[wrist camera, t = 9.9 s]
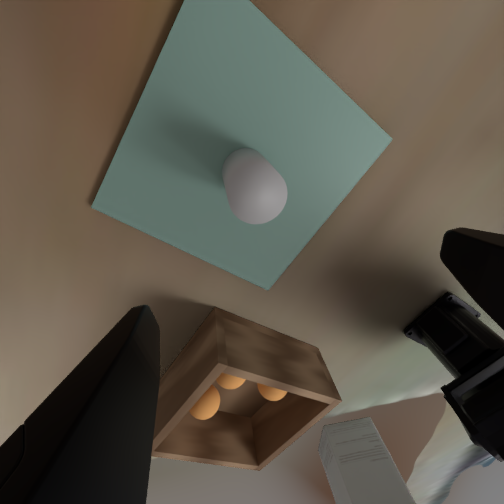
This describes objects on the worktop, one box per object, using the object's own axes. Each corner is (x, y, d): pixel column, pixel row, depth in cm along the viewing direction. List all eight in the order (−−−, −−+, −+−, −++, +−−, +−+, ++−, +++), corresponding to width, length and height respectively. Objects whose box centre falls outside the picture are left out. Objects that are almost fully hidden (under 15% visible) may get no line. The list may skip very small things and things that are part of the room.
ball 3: (290, 363, 29) (299, 391, 26) (272, 381, 30) (279, 410, 27) (266, 355, 28) (273, 384, 25) (248, 374, 29) (253, 404, 26)
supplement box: (316, 450, 42) (356, 572, 32) (322, 423, 39) (369, 553, 28) (361, 441, 43) (414, 558, 33) (371, 415, 40) (435, 536, 29)
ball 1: (225, 380, 29) (227, 411, 26) (209, 398, 30) (210, 429, 27) (197, 372, 27) (197, 404, 25) (182, 391, 29) (180, 423, 26)
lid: (384, 137, 20) (446, 153, 15) (265, 283, 25) (282, 332, 20) (203, -36, 14) (205, -106, 9) (95, 202, 19) (57, 242, 14)
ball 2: (252, 350, 27) (257, 379, 24) (234, 370, 28) (237, 400, 25) (224, 340, 26) (226, 370, 23) (206, 361, 27) (207, 392, 24)
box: (318, 348, 30) (342, 401, 25) (251, 414, 34) (259, 470, 29) (214, 306, 25) (218, 362, 20) (151, 391, 29) (141, 454, 24)
